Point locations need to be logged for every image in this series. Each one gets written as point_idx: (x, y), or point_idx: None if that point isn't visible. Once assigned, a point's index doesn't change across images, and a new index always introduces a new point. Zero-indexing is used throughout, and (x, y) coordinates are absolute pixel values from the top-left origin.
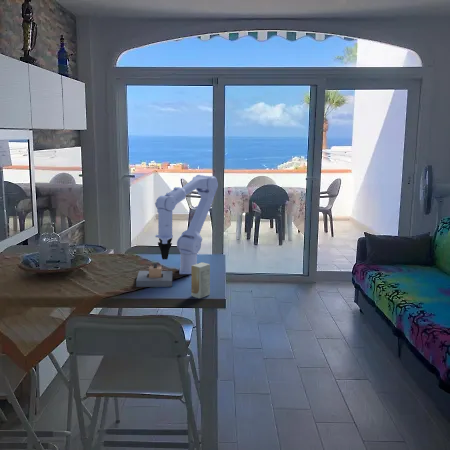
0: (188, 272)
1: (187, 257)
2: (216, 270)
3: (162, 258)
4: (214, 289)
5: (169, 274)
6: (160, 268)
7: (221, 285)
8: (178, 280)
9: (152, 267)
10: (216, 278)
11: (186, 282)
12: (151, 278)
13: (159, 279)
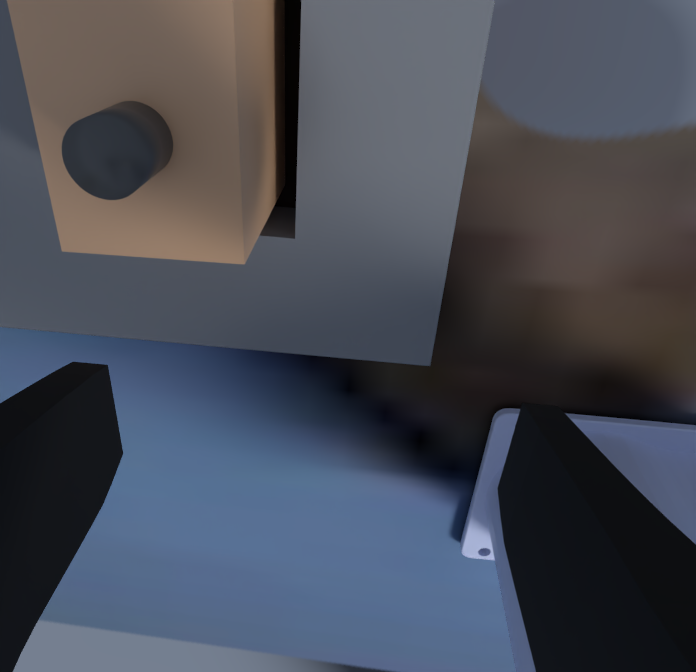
0: (487, 496)
1: (528, 659)
2: None
3: (54, 377)
4: None
5: (258, 318)
6: (83, 238)
7: (137, 632)
8: (267, 373)
9: (136, 77)
10: (323, 635)
11: (197, 434)
12: (12, 35)
13: None
